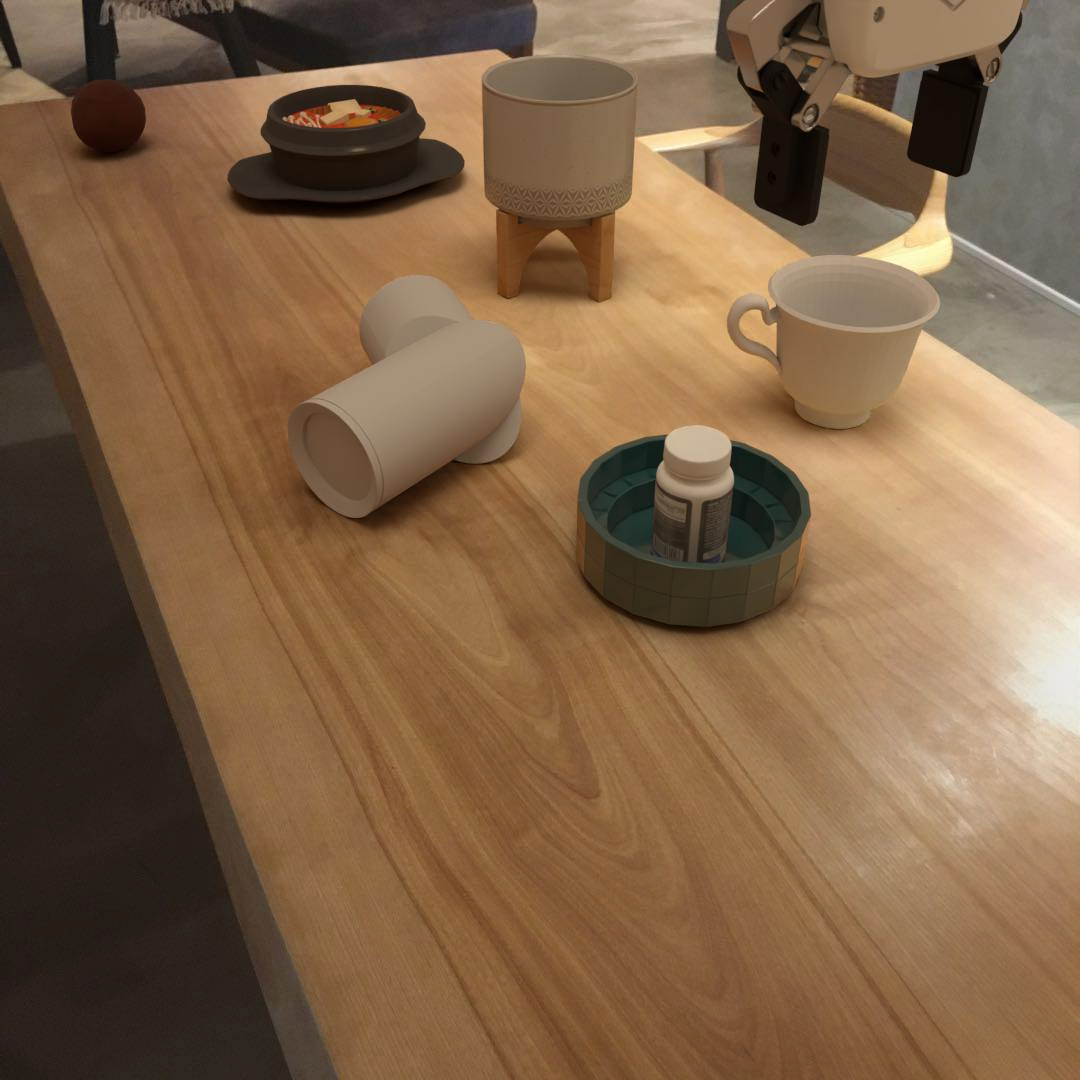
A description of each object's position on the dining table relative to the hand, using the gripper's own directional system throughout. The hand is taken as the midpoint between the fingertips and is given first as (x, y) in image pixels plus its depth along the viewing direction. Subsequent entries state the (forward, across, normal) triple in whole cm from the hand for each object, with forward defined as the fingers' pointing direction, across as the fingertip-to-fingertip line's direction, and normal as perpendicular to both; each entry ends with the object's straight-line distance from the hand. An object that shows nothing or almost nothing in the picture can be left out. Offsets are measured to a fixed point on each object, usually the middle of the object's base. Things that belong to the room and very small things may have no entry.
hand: (863, 190), depth 52 cm
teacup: (+28, +21, +18) cm, 39 cm away
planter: (+27, +19, +48) cm, 59 cm away
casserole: (+27, +13, +79) cm, 85 cm away
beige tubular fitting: (+28, -7, +32) cm, 43 cm away
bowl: (+28, +1, +10) cm, 29 cm away
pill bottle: (+27, +1, +10) cm, 29 cm away
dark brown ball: (+27, -4, +104) cm, 107 cm away
